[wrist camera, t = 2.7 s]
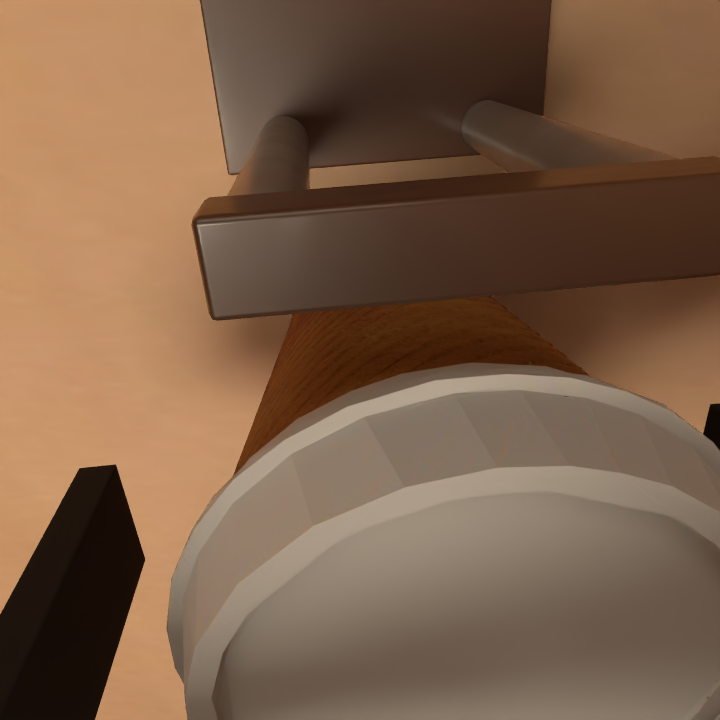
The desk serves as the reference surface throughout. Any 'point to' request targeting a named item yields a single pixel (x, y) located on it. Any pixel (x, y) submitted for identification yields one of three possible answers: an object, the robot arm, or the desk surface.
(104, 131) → the desk surface
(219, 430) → the desk surface
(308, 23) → the bookends
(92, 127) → the desk surface
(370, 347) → the disposable coffee cup
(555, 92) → the desk surface
